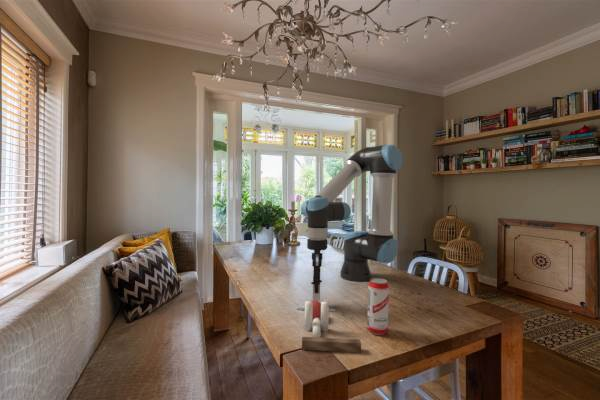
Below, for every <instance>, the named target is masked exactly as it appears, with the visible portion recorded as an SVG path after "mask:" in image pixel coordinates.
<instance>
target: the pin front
mask: <svg viewBox="0 0 600 400" xmlns="http://www.w3.org/2000/svg"><path fill="white" fill-rule="evenodd" d="M321 332H322V331H321V318H320V317H319V318H315V319H312V337H317V338H321V336H322V333H321Z"/></svg>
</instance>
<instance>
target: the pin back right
mask: <svg viewBox="0 0 600 400" xmlns="http://www.w3.org/2000/svg"><path fill="white" fill-rule="evenodd" d="M320 303H321V317H320V322H321V332H323V333H325V332H328V331H329V316H330V315H329V312H330V311H329V309H330V307H329V305H330V303H329V302H328V301H321V302H320Z"/></svg>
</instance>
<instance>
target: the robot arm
mask: <svg viewBox="0 0 600 400" xmlns="http://www.w3.org/2000/svg"><path fill="white" fill-rule="evenodd" d="M402 166H403V156H402V152H401V150H400V149H399V147H397V145H394V144H383V145H382V144H381V145H375V146H367V147H363V148H361V149H359V150H358V151H356V152H355V153H353V154H352V155H351V156H350V157H349V158H348V159H347V160H346V161H344V164H343V167H342V168H341V169H340V170H339V171H337V173H336V174H335V175H334V176H333V177H332V178H331V179H330V180H329V181H328V182H327V183H326V184H325V186H324V187H322V188H321V190H320V191H318V193H317V194H315V196H314V197H309V198H308V199H307V200H304V201H303V202H302V204H301V205H300V212H301V214H302V215H303V216H304V217H305V218H307V228H306V230H305V232H306V233H307V238H308V239H307V240H306V241H307V242H306V245H307V246H306V248H307V249H308V250H310V251H313V252H311V260H312V262H311V263H312V264H311V266H312V267H313V274H312V275H313V276H312V278H313V279H312V281H311V282H310V283H311V285H312V300H316V301H318V302H320V301H321V283H322V282H323V281H322V280H321V267H322V264H323V263H322V260H323V253H322V252H321V251H326V250H327V249H328V233H329V230H328V229H329V228H328V227H329V223H330V222H342V221H346V220H348V219H349V218H350V216H351V213H352V212H351V211H352V210H351V207H350V205H349V204H348V203H347V202H343V201H335V200H336V199H337V198H338V197H339V196H340V194H342V192H344V190H345V189H346V188H347V187H348V186H349V185H350V184H351V183H352V182H353V181H354V179H356V178H357V177H360V176H361V175H362V174H363V173H367V172H369V174H370V176H371V177H372V179H373V181H372V199H371V200H372V202H371V204H372V205H371V222H370V224H371V226H370V229H369V230H368V231H367V230H356V231H347V232H346V233H345V234H344V241H343V242H344V249H343V250H344V255H343V256H344V258H343V263H342V266H341V269H340V272H339V273H340V277H341V278H342V279H343V280H346V281H351V282H366V281H369V280H370V279H372V273H371V269H370V266H369V261H373V262H376V263H380V264H390V263H392V262H393V261H394V260H395V259H396V257H397V254H398V252H399V243H398V240H397V239H395V238H394V233H393V232H392V231H391V223H392V222H391V220H392V202H393V201H392V199H393V179H394V177H395V176H396V175H397V171H398V170H400V169H401V168H402ZM368 260H369V261H368Z"/></svg>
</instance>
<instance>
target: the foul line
mask: <svg viewBox="0 0 600 400" xmlns="http://www.w3.org/2000/svg"><path fill="white" fill-rule="evenodd" d="M296 310H297V311H305V307H297V308H296ZM329 312H337V311H336V308H329Z"/></svg>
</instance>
